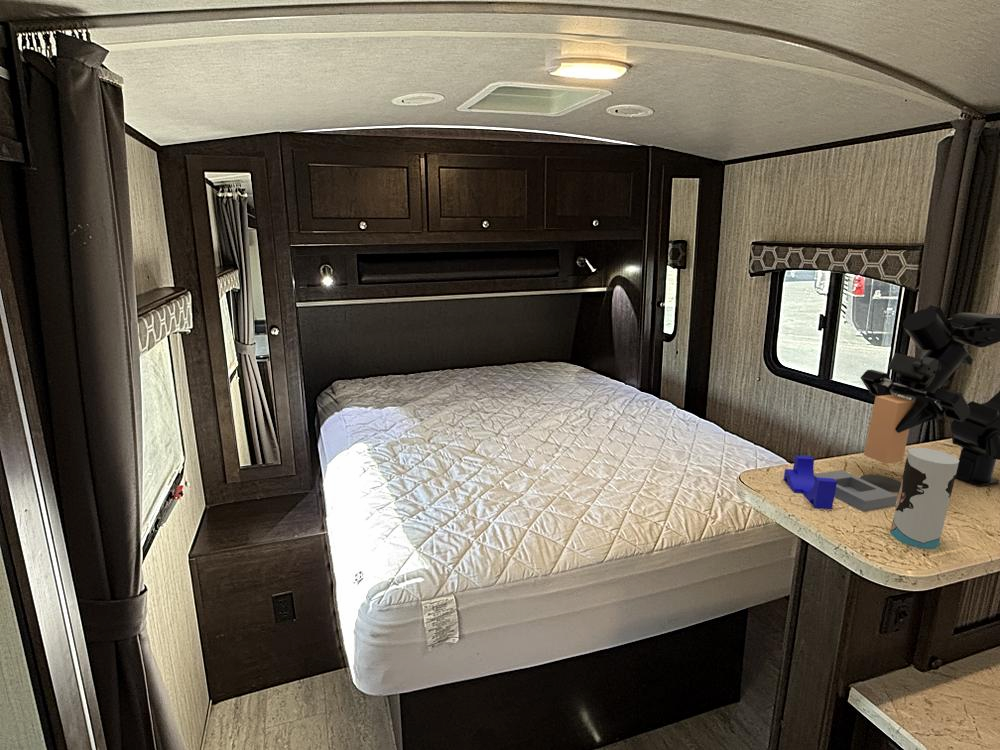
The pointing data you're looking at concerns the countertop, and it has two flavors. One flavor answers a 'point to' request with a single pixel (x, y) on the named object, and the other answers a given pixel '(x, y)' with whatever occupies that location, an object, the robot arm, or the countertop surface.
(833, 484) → the cable clip
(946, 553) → the countertop surface
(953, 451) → the countertop surface
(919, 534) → the cup
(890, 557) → the countertop surface
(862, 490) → the socket block
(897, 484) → the coaster
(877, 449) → the tan rectangular block
